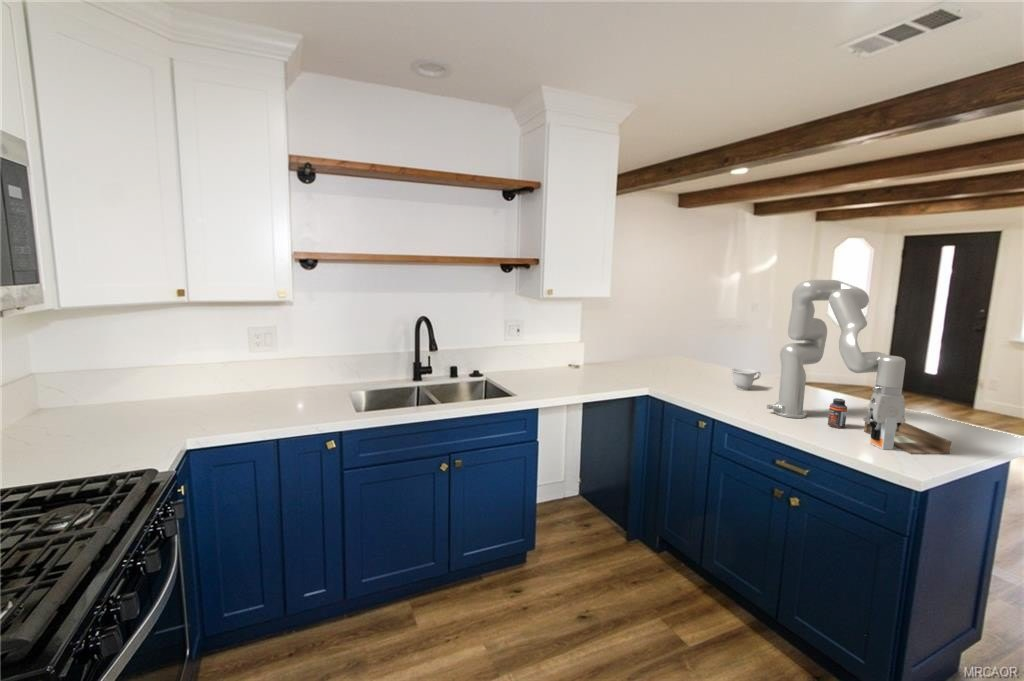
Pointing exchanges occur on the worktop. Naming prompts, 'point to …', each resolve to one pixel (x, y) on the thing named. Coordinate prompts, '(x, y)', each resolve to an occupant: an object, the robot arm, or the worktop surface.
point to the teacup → (744, 377)
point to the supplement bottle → (837, 413)
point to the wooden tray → (917, 440)
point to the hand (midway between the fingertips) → (882, 438)
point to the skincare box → (886, 434)
